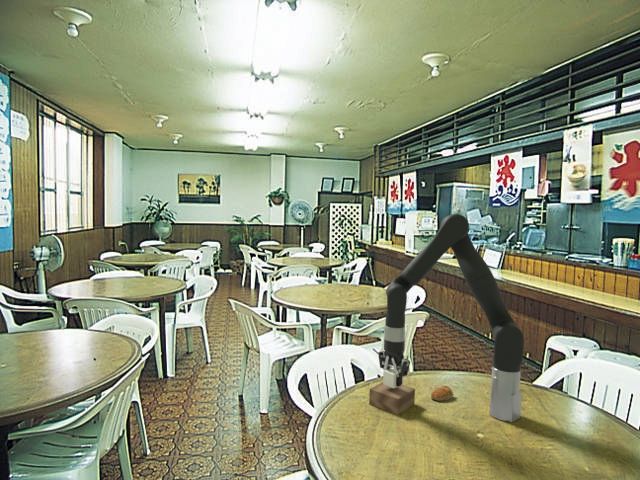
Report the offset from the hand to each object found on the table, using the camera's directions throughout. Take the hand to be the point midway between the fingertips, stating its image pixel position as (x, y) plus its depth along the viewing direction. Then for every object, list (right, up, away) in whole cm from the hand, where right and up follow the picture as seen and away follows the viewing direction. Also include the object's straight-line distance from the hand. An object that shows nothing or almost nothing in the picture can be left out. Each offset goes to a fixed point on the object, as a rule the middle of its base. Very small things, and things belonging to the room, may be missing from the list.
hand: (392, 383), depth 159 cm
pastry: (+20, -8, +8) cm, 23 cm away
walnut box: (0, -8, +1) cm, 8 cm away
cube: (0, 0, 0) cm, 0 cm away
